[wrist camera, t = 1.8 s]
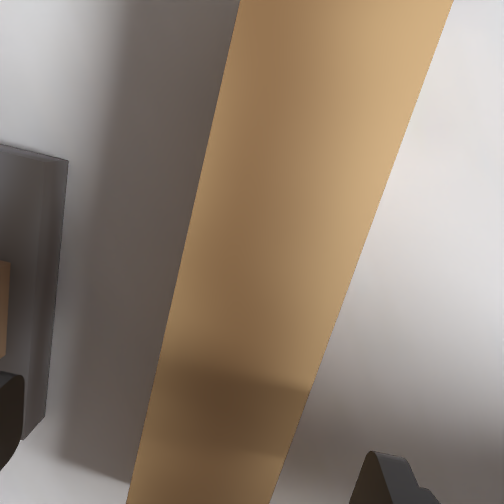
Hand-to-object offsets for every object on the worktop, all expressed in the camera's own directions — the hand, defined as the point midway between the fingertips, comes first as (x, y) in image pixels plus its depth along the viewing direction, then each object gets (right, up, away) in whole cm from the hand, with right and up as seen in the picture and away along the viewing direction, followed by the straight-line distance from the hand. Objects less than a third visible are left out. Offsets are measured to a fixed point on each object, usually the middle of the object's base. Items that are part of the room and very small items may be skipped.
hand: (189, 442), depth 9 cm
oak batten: (+1, +2, +7) cm, 7 cm away
